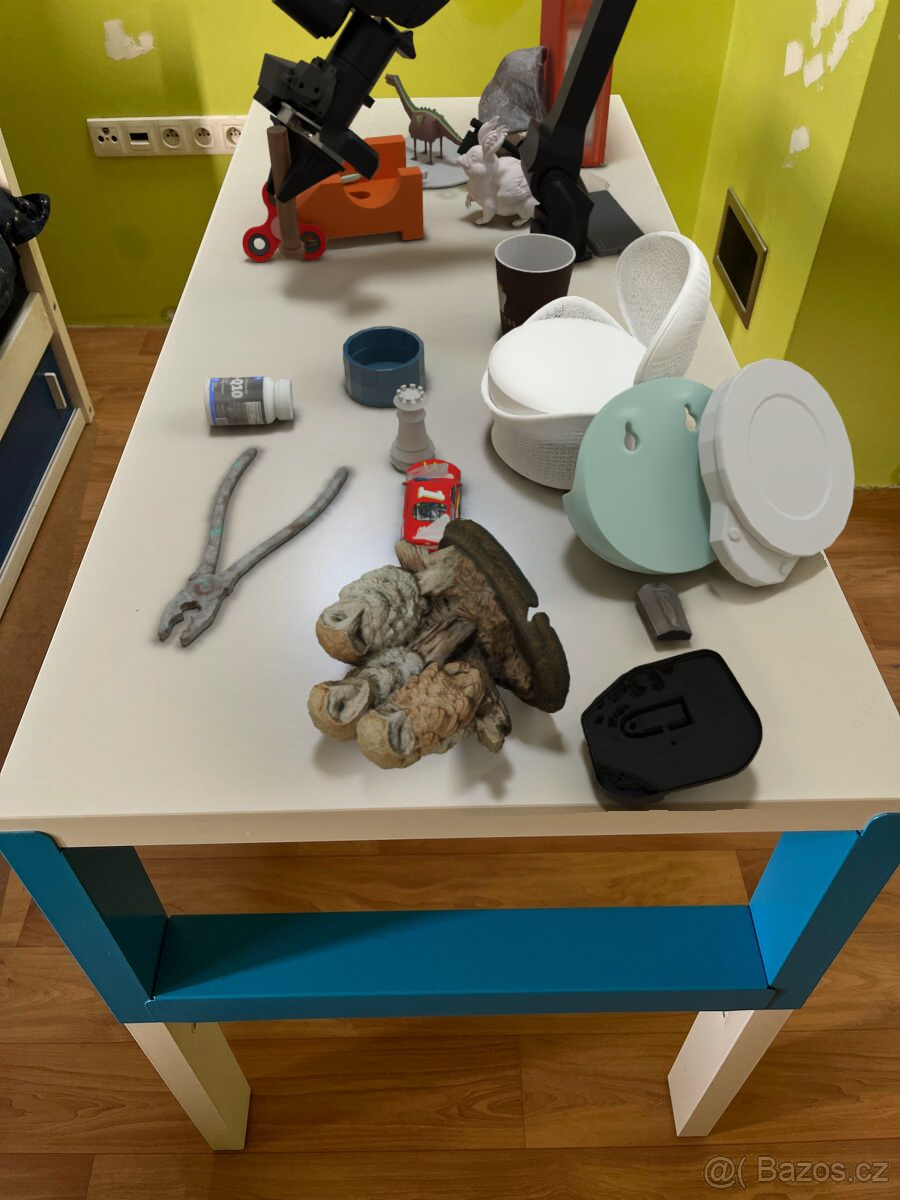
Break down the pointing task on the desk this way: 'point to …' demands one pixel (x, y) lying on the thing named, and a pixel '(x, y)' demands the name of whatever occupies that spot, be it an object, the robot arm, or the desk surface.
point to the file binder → (559, 34)
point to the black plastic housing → (670, 728)
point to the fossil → (516, 91)
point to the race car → (430, 502)
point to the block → (663, 612)
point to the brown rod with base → (287, 211)
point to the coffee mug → (531, 275)
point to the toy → (273, 238)
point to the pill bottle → (247, 400)
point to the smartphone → (610, 226)
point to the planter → (644, 481)
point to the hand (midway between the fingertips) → (274, 197)
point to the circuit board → (511, 138)
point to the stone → (593, 181)
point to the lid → (773, 470)
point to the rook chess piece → (411, 429)
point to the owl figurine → (436, 651)
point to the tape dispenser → (368, 197)
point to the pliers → (213, 588)
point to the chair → (593, 356)
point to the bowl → (382, 364)
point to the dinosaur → (430, 142)
